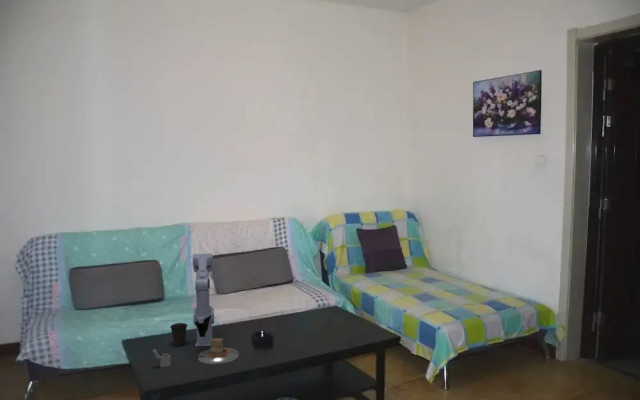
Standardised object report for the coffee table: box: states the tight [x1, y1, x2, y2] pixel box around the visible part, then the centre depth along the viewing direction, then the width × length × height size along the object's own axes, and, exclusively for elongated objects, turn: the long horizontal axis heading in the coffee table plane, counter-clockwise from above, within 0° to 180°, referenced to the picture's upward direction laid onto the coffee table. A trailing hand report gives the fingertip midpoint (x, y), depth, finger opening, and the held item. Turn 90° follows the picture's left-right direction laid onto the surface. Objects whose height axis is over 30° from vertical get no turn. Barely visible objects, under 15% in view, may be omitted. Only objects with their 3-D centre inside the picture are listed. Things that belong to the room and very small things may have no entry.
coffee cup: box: [170, 322, 188, 347], centre depth 246 cm, size 8×8×10 cm
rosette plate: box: [197, 347, 240, 366], centre depth 230 cm, size 18×18×2 cm
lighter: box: [152, 348, 172, 368], centre depth 220 cm, size 7×2×8 cm, turn 117°
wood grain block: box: [210, 337, 224, 353], centre depth 230 cm, size 3×5×7 cm, turn 94°
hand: (203, 333), depth 233 cm, fingers open, 7 cm apart
